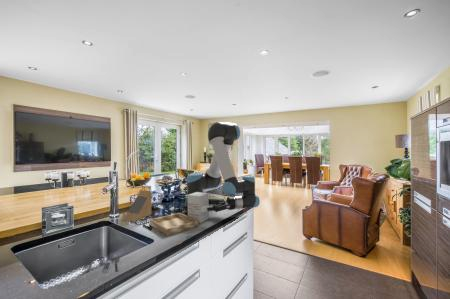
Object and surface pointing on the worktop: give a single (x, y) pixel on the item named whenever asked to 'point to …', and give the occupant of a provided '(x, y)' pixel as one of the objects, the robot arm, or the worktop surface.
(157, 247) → the worktop surface
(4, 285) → the worktop surface
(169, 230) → the oak tray
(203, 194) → the supplement box
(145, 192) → the sandwich container
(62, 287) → the worktop surface
